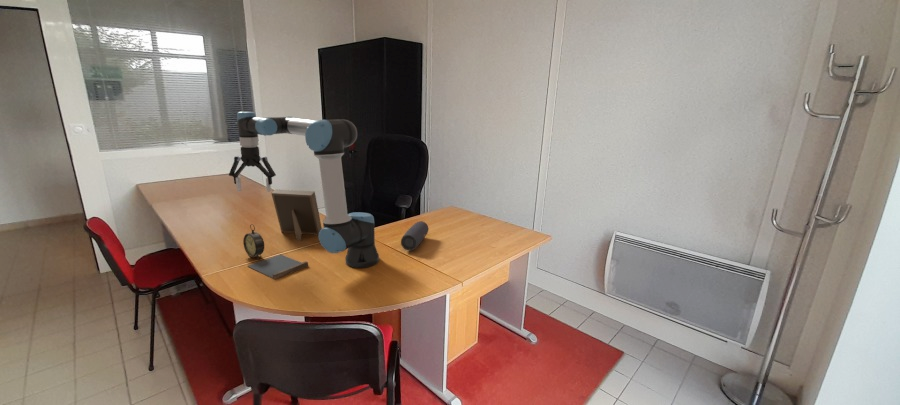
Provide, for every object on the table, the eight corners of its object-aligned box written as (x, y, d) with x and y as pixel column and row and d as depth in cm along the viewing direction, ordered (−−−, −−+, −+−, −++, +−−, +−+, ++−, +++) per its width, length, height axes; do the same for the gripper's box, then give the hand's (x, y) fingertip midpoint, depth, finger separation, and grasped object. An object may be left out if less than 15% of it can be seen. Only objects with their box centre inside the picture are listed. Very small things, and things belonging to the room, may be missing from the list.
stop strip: (308, 266, 166) (307, 261, 165) (274, 279, 153) (274, 274, 152) (306, 265, 167) (305, 261, 166) (272, 278, 154) (272, 273, 153)
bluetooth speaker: (417, 254, 183) (417, 234, 180) (399, 252, 184) (399, 233, 182) (429, 238, 204) (429, 221, 202) (413, 236, 206) (413, 219, 203)
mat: (307, 265, 166) (307, 264, 166) (274, 279, 153) (274, 278, 153) (280, 255, 177) (280, 254, 176) (247, 266, 164) (247, 265, 163)
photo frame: (285, 229, 211) (281, 186, 204) (322, 232, 209) (319, 188, 202) (270, 239, 196) (265, 193, 190) (310, 241, 194) (306, 195, 188)
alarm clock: (244, 255, 174) (240, 223, 170) (255, 252, 179) (251, 220, 175) (256, 261, 169) (252, 228, 164) (268, 258, 173) (264, 225, 169)
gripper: (280, 146, 176) (284, 189, 181) (225, 144, 173) (230, 188, 179) (274, 148, 168) (278, 193, 174) (216, 146, 166) (222, 192, 172)
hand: (254, 190), depth 177 cm, fingers open, 13 cm apart
